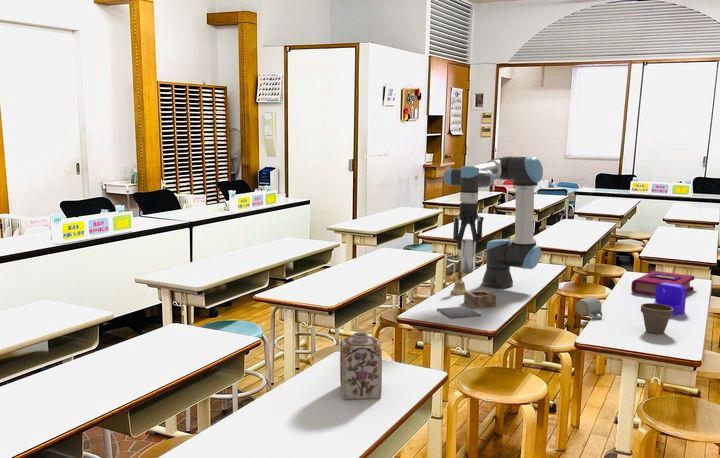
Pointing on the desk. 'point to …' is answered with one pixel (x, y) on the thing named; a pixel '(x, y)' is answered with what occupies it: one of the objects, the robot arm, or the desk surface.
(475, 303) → the bore block
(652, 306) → the flower pot
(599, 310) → the ceramic mug
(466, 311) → the mat
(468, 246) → the plug
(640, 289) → the book
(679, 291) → the bracket
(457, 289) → the hand bell
